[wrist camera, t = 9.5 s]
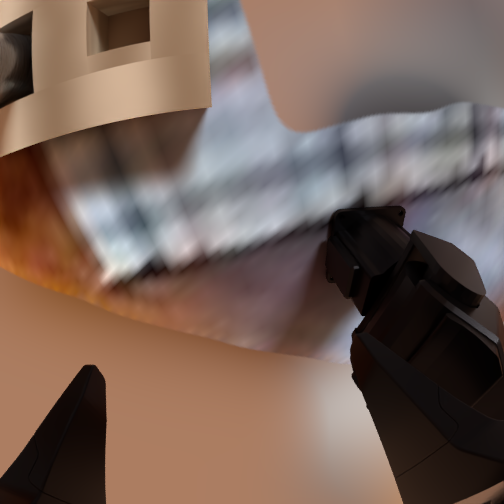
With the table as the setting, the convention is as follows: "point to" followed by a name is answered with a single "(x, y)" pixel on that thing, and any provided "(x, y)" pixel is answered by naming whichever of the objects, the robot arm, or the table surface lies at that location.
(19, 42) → the peg
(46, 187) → the table surface
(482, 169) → the table surface
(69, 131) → the bore block
